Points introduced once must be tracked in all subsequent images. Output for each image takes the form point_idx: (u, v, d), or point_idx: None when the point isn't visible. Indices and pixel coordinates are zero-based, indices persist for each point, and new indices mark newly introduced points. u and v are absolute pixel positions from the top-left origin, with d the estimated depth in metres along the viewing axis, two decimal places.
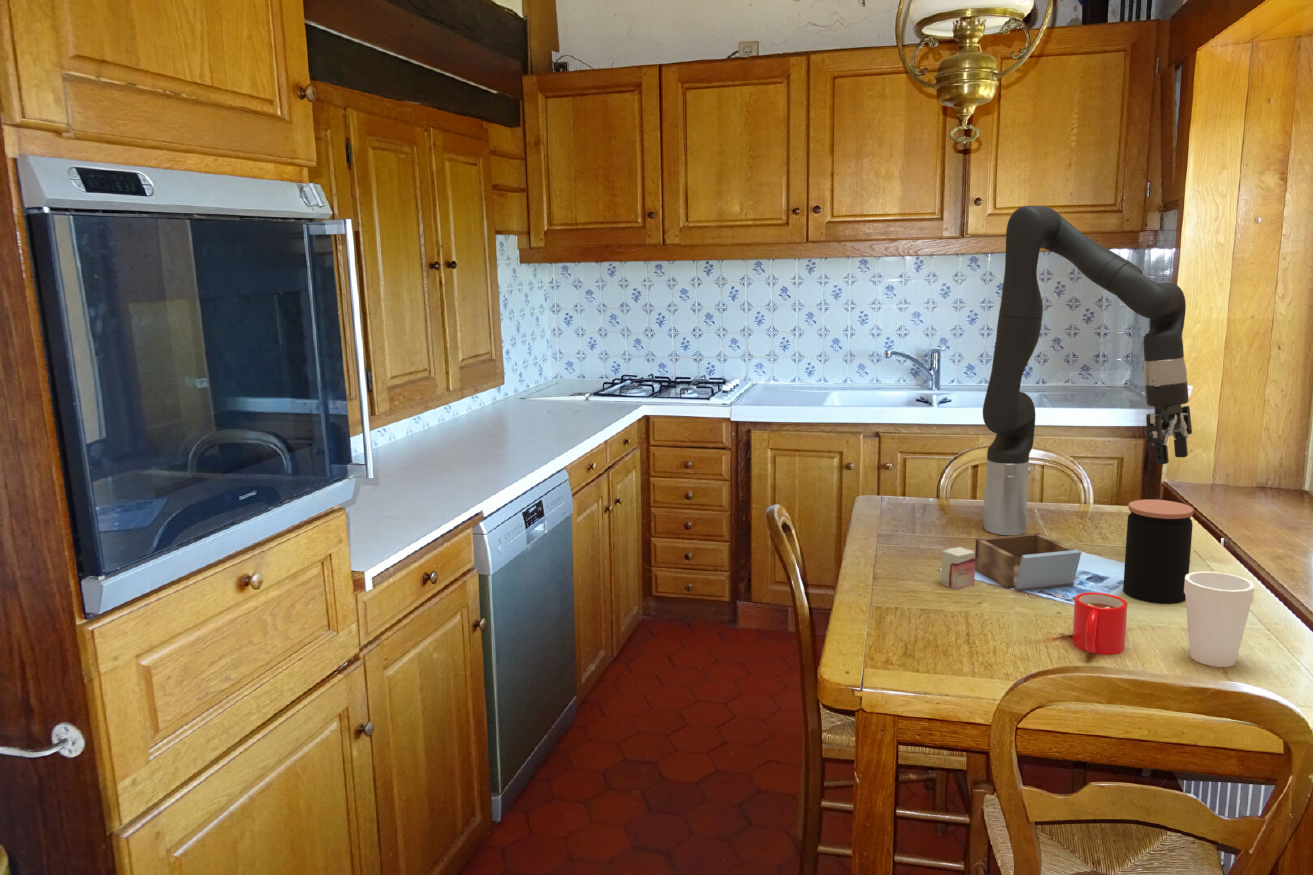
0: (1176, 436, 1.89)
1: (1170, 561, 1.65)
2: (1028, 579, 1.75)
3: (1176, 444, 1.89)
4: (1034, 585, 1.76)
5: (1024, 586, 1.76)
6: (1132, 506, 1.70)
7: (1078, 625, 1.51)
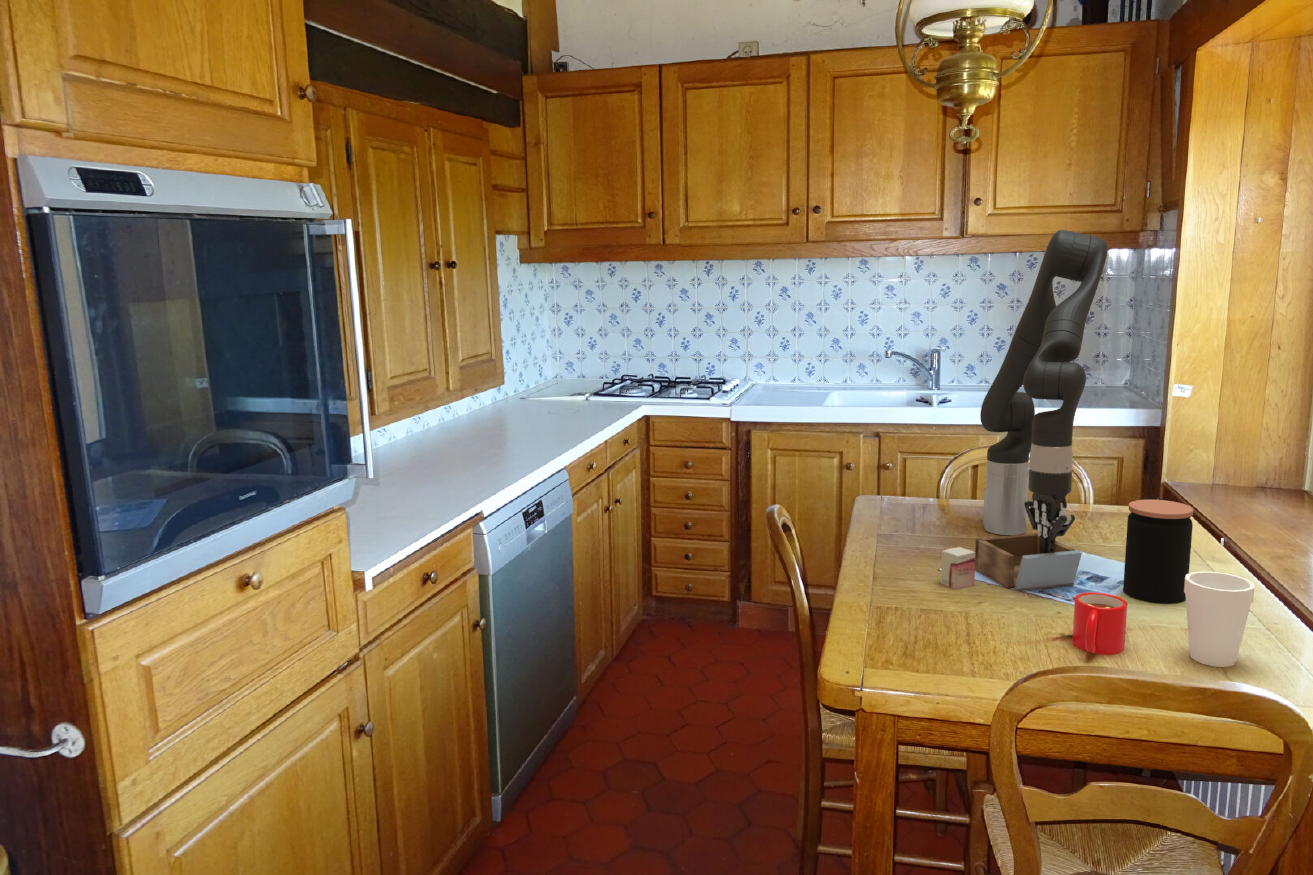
0: None
1: (1170, 561, 1.65)
2: (1028, 579, 1.75)
3: None
4: (1034, 585, 1.76)
5: (1024, 586, 1.76)
6: (1132, 506, 1.70)
7: (1078, 625, 1.51)
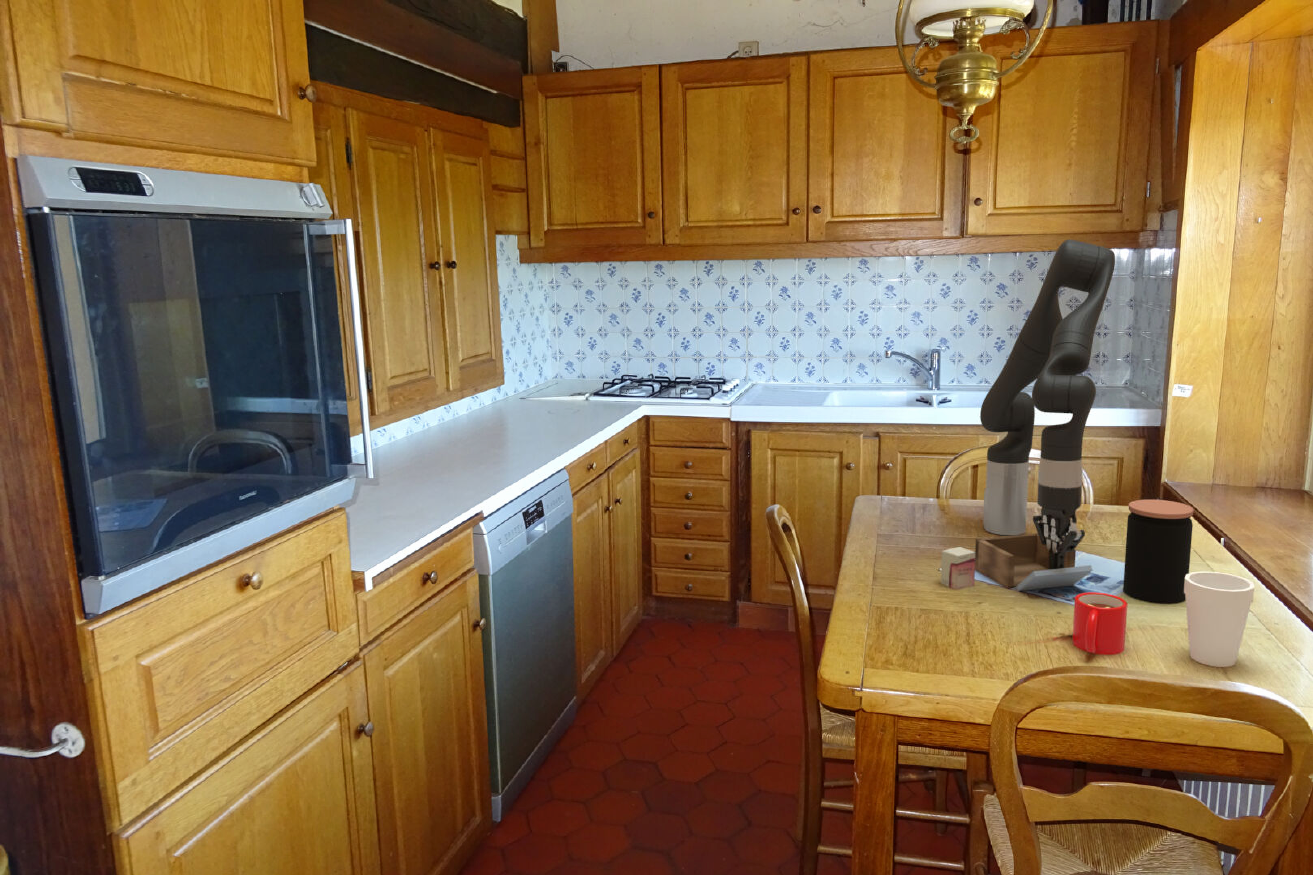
0: None
1: (1170, 561, 1.65)
2: (1031, 586, 1.74)
3: None
4: (1035, 588, 1.76)
5: (1025, 589, 1.76)
6: (1132, 506, 1.70)
7: (1078, 625, 1.51)
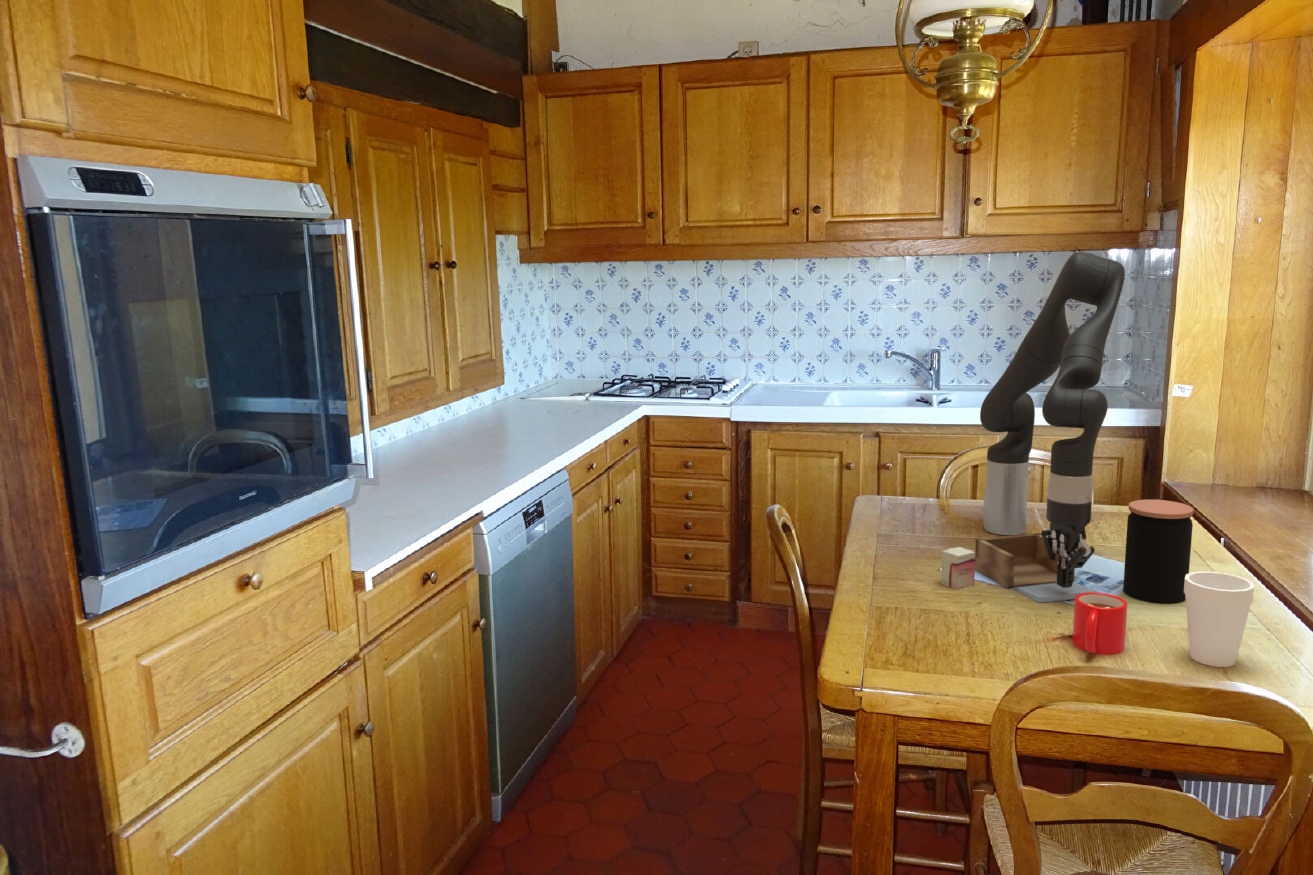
0: None
1: (1170, 561, 1.65)
2: None
3: None
4: None
5: None
6: (1132, 506, 1.70)
7: (1078, 625, 1.51)
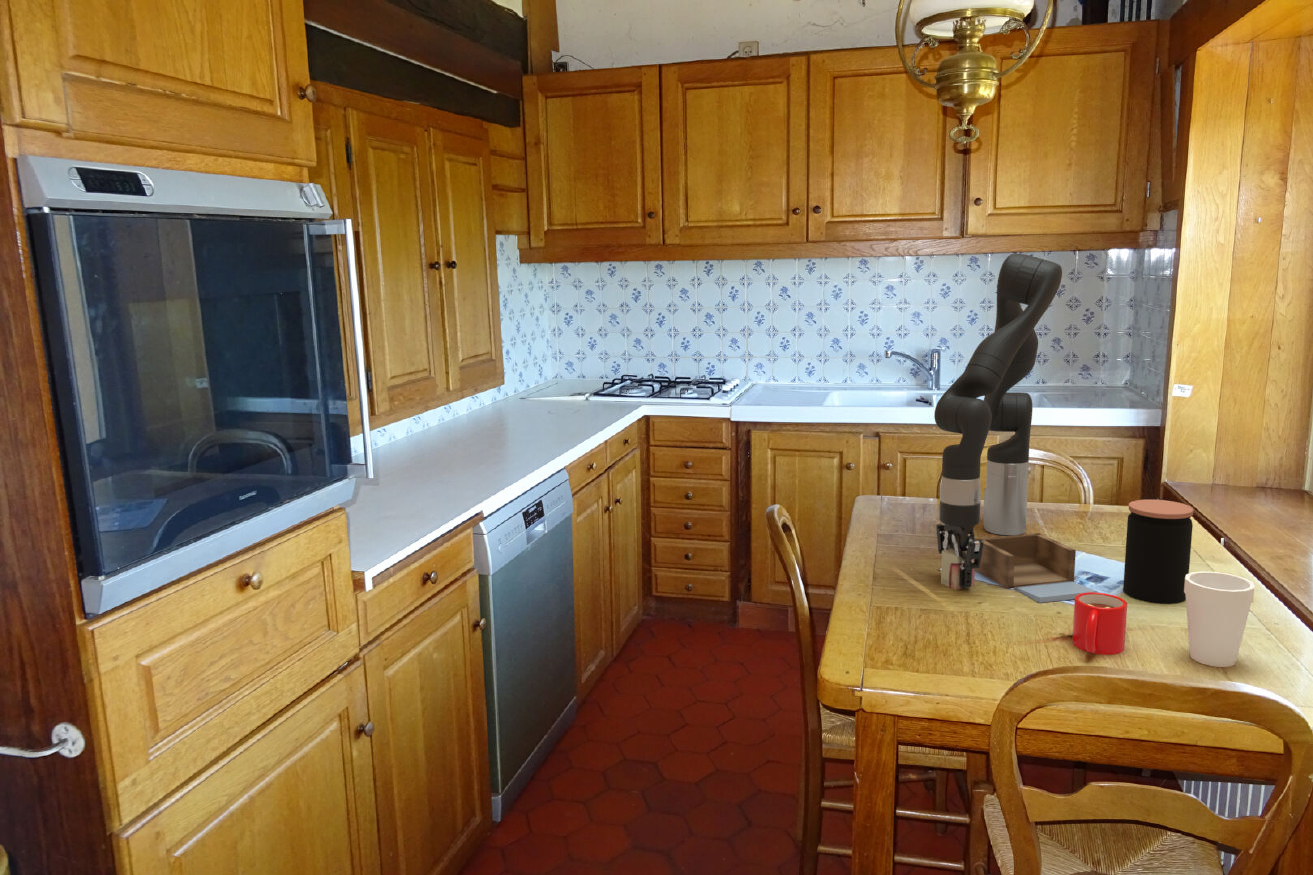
0: None
1: (1170, 561, 1.65)
2: None
3: None
4: None
5: None
6: (1132, 506, 1.70)
7: (1078, 625, 1.51)
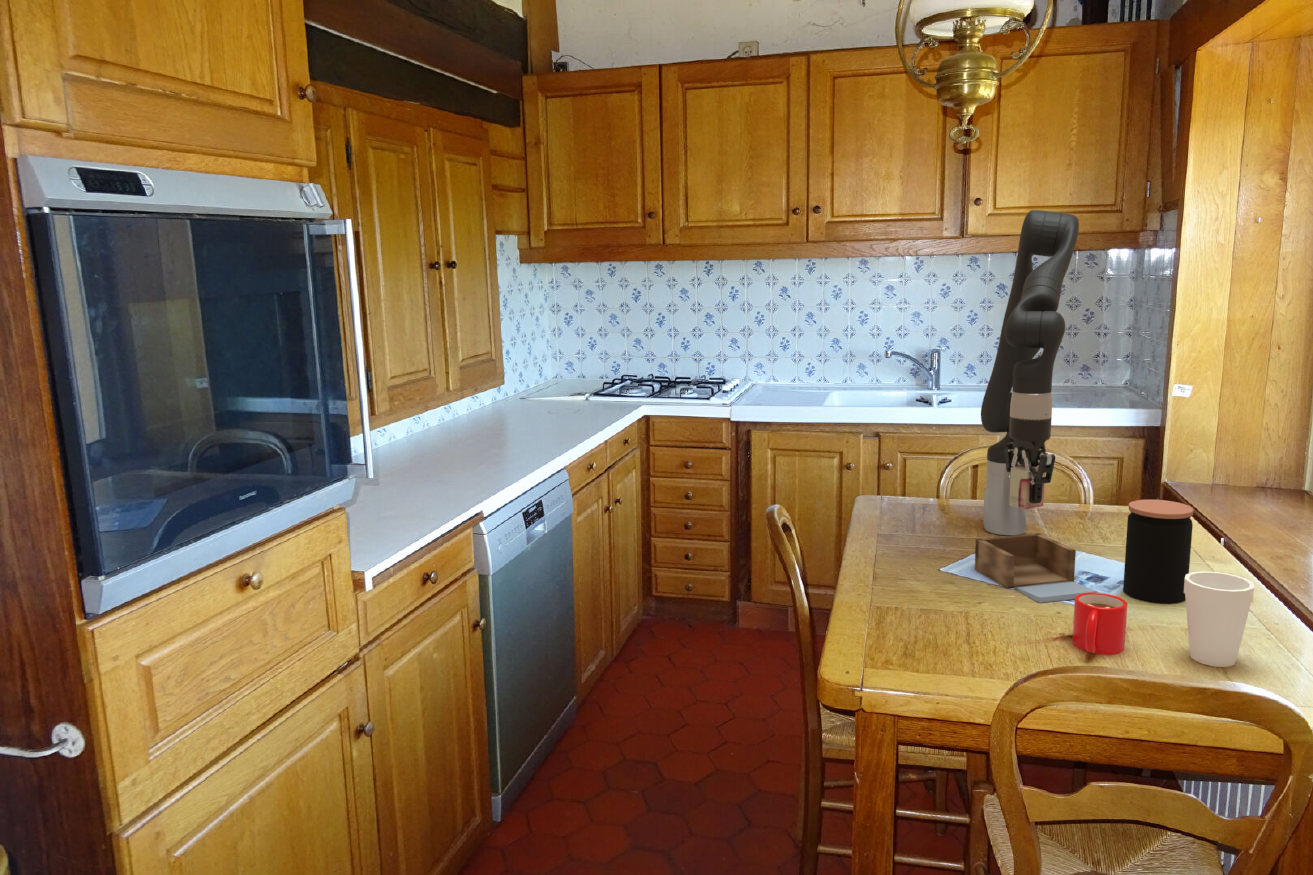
0: None
1: (1170, 561, 1.65)
2: None
3: None
4: None
5: None
6: (1132, 506, 1.70)
7: (1078, 625, 1.51)
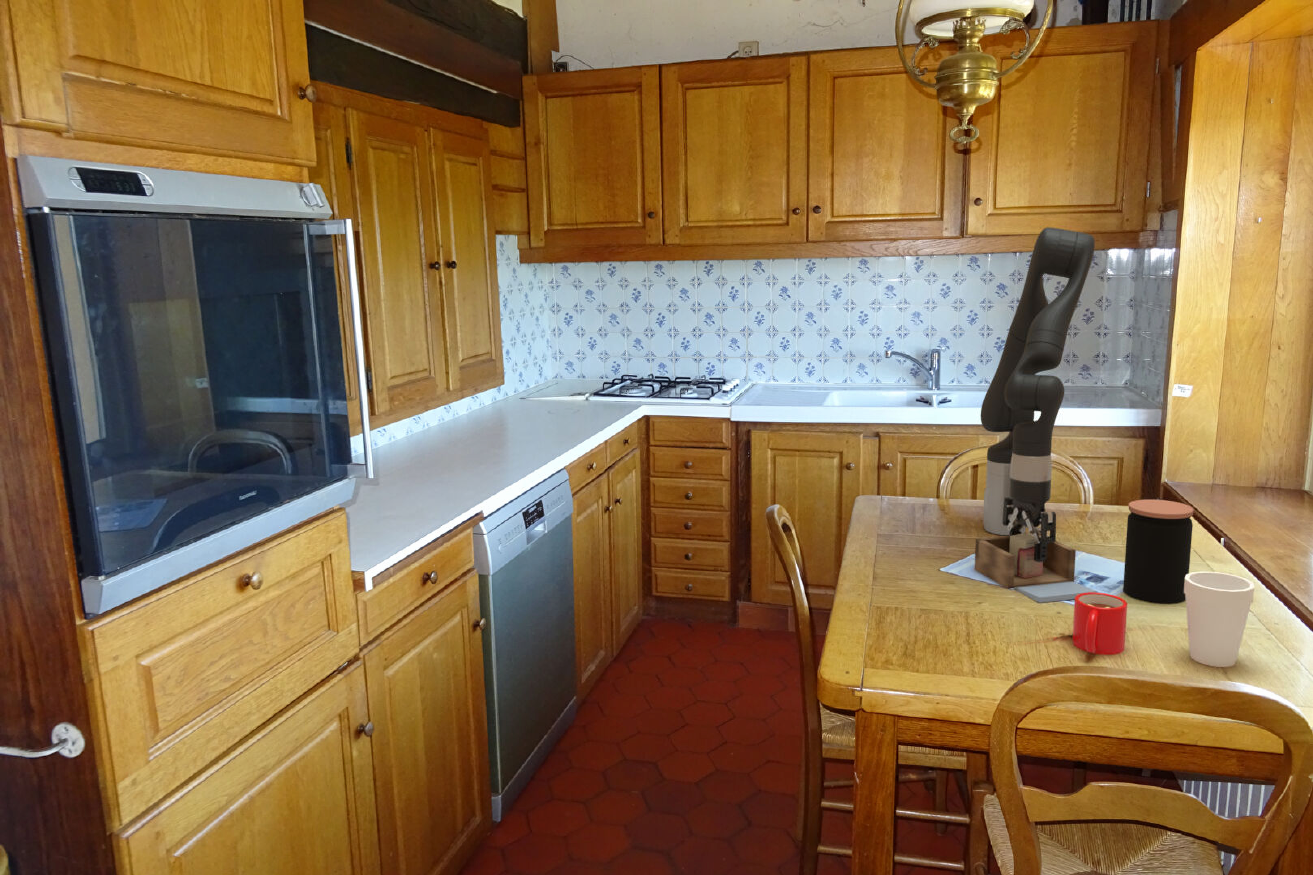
0: None
1: (1170, 561, 1.65)
2: None
3: None
4: None
5: None
6: (1132, 506, 1.70)
7: (1078, 625, 1.51)
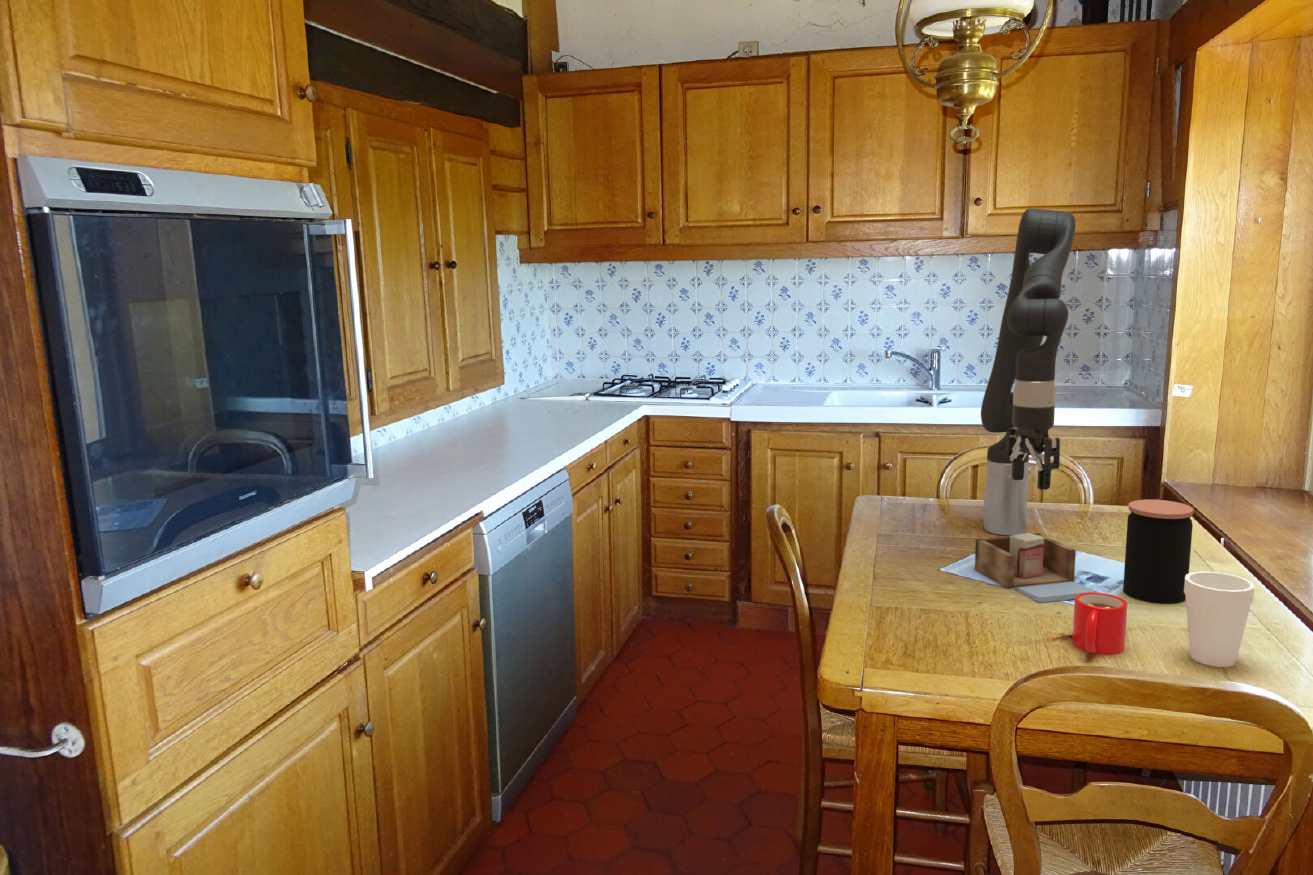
0: None
1: (1170, 561, 1.65)
2: None
3: None
4: None
5: None
6: (1132, 506, 1.70)
7: (1078, 625, 1.51)
